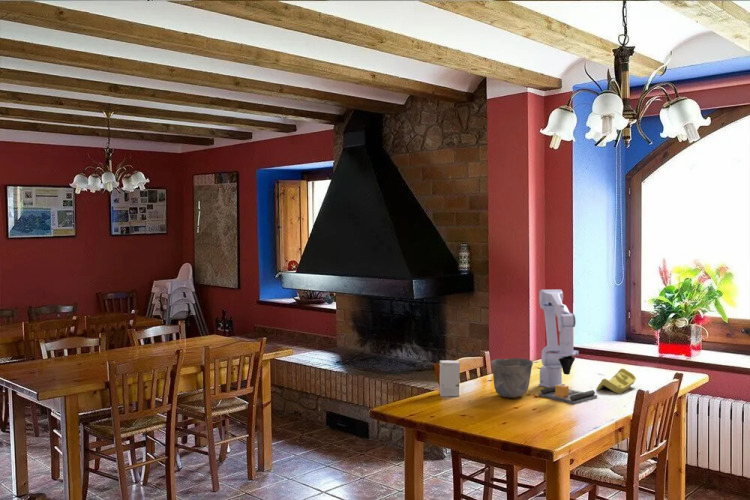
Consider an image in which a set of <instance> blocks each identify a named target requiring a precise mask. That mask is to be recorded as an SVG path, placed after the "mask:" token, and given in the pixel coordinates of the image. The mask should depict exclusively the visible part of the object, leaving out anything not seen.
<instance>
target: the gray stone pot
mask: <svg viewBox="0 0 750 500" xmlns="http://www.w3.org/2000/svg"><path fill="white" fill-rule="evenodd" d="M490 364H491V368H492V369H491V370H492V375H493V376H492V378H493V388H494V389H495V392H496V393H497V394H498V395H499V396H501V397H504V398H510V399H511V398H517V397H521V396H523V395H525V394H526V393H527V392H528V390H529V387H530V381H531V373H532V368H533V364H534V361H532V360H531V359H526V358H521V357H520V358H516V357H513V358H498V359H497V358H496V359H492V360H491V361H490Z"/></svg>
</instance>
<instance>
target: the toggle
mask: <svg viewBox="0 0 750 500" xmlns="http://www.w3.org/2000/svg"><path fill="white" fill-rule="evenodd" d="M565 385H566V384H564V385H561V384H559V385H555V395H558V396H563V397H565V396H569V389H570V388H569V385H566V386H565Z"/></svg>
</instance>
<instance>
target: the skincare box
mask: <svg viewBox="0 0 750 500" xmlns="http://www.w3.org/2000/svg"><path fill="white" fill-rule="evenodd" d="M460 364H461V363H460V361H458V360H447V359H446V360H441V359H440V360H439V383H438V384H439V386H438V389H439V391H438V393H439V395H440V397H442V398H443V397H460V373H461V372H460V371H461V369H460V367H461V365H460Z"/></svg>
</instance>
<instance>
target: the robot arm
mask: <svg viewBox="0 0 750 500" xmlns="http://www.w3.org/2000/svg"><path fill="white" fill-rule="evenodd" d="M538 299H539V301H538V302H539V308H540V309H542V310H543V313H544V322H545V323H544V324H545V325H544V326H545V335H546V346H545V347H543V349H542V350H541V356H540V357H541V360H540V361H541V364H542V366H541V367H540V369H539V384H538V386H541V387H544V388H548V387H552V386H555V385H559V384H563V381H562V380H563V378H562V376H563V375H567V376H568V375H570V373H571V369H572V366H573V364H574V361H575V360H576V358H575V357H574V356H579V355H580V354H579V352H580V351H579V350H576V349H575V350H574V328H575V327H576V324H577V323H576V315H575V314H574V313H571V311H570V310H569V308H568V306H567V305H566V304H563V301H564V292H563V290H562V289H560V288H559V289H540V290H539V292H538ZM556 319H557V321H556ZM557 326H558V332H559V342H558V332H557ZM562 372H563V374H562ZM564 385H565V386H567V385H566V384H564Z"/></svg>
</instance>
